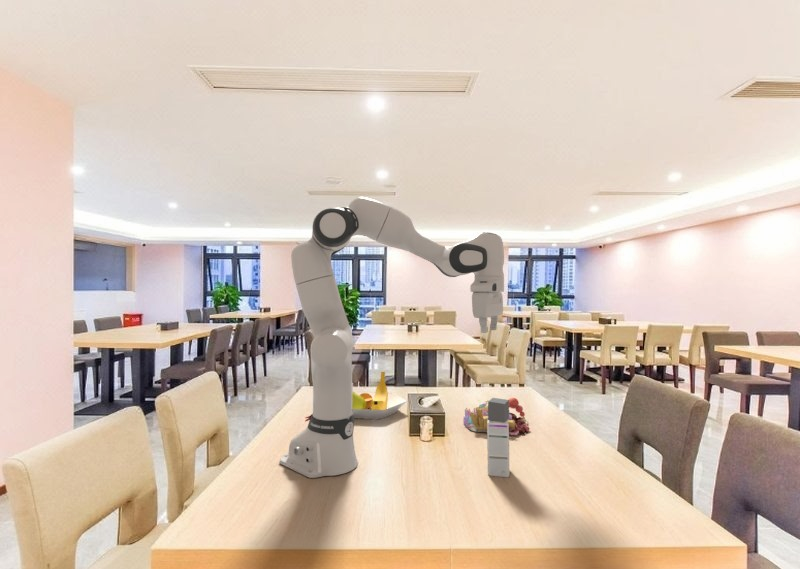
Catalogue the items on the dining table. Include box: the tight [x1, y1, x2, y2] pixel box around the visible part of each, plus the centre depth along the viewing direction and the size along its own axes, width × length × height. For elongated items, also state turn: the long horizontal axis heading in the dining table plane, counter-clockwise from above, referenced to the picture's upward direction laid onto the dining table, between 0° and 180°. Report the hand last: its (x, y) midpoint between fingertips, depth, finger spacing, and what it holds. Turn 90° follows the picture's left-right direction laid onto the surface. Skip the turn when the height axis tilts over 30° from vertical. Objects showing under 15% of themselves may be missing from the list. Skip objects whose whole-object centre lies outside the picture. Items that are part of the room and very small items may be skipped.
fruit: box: [352, 371, 407, 420], centre depth 165 cm, size 30×26×14 cm
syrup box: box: [486, 419, 510, 478], centre depth 111 cm, size 6×6×14 cm
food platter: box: [462, 397, 531, 436], centre depth 150 cm, size 25×24×9 cm
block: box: [488, 397, 510, 423], centre depth 111 cm, size 4×4×5 cm
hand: (489, 331), depth 124 cm, fingers open, 8 cm apart
